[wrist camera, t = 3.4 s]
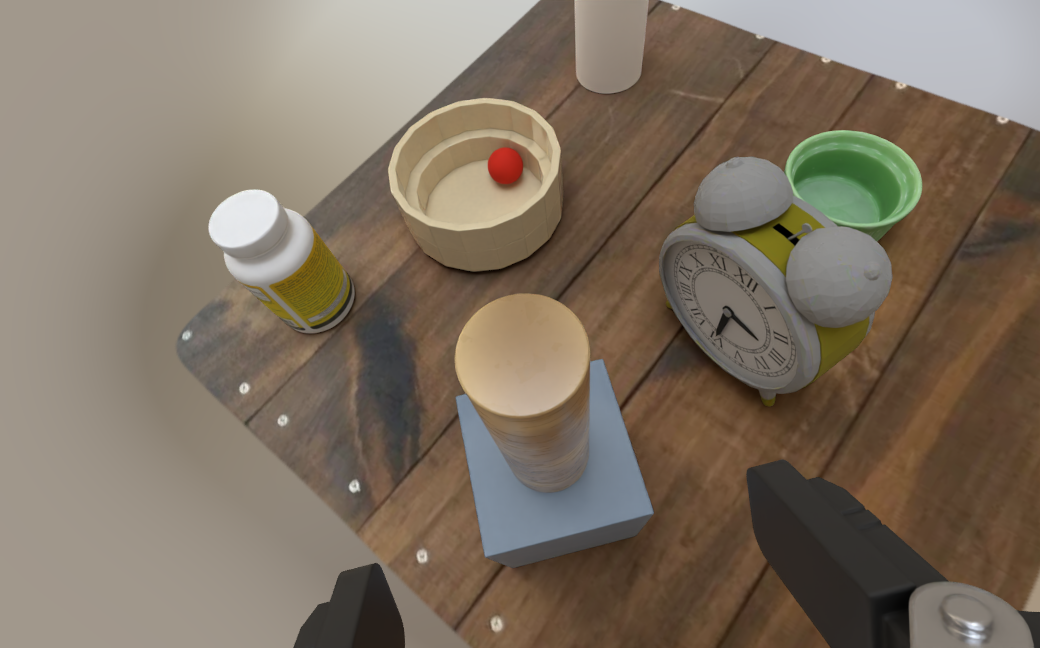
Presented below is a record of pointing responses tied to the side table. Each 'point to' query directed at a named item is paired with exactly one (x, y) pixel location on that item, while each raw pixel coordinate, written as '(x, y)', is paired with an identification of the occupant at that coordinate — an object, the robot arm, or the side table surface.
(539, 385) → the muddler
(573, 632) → the side table surface
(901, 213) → the ramekin
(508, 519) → the upright slate-blue block
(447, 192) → the bowl
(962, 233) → the side table surface
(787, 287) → the alarm clock
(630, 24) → the candle
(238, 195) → the pill bottle
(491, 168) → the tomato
